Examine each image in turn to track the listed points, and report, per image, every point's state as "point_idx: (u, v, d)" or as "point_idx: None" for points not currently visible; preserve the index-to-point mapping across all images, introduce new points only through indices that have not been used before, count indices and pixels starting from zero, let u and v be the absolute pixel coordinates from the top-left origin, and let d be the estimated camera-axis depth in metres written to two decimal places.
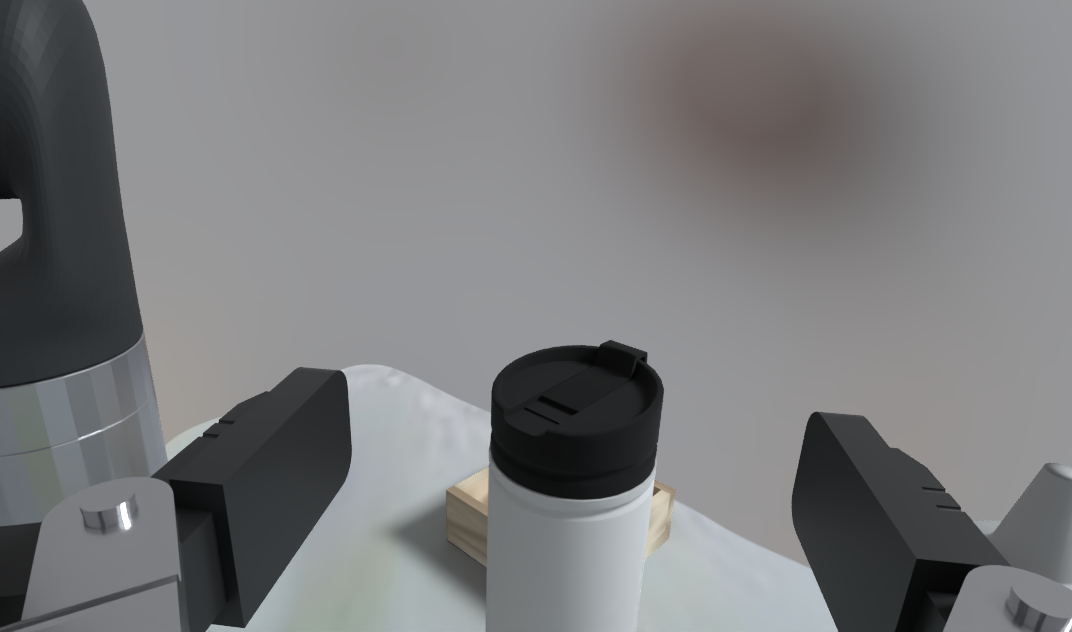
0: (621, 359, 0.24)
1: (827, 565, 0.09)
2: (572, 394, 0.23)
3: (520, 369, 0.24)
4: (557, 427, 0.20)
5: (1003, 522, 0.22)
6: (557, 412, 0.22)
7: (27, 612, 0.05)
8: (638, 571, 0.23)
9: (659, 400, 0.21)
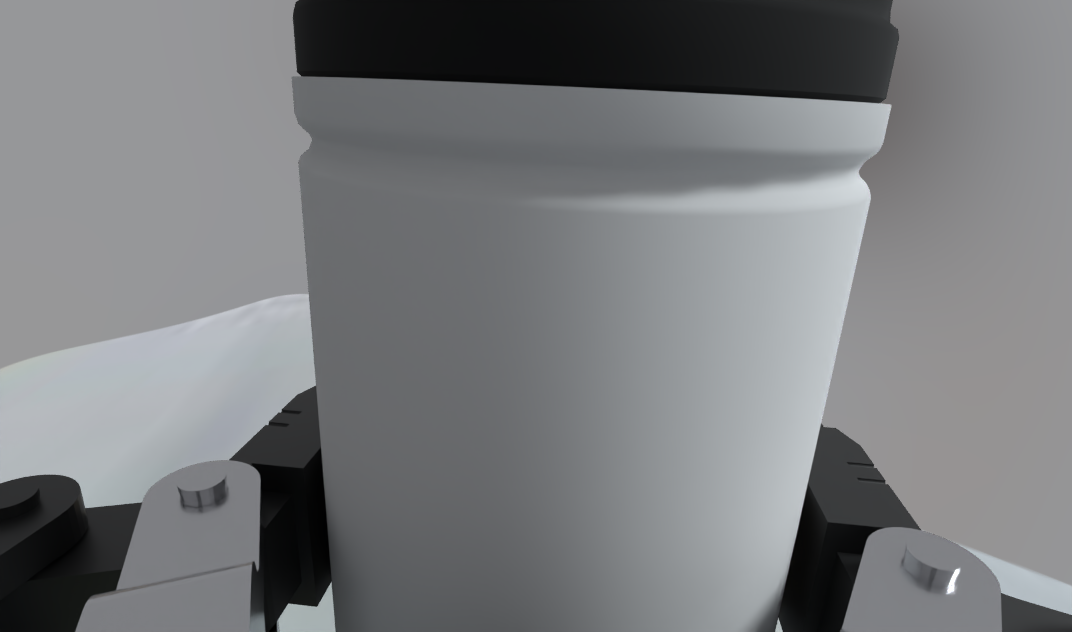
0: None
1: None
2: None
3: None
4: None
5: None
6: None
7: (122, 581, 0.06)
8: (804, 489, 0.07)
9: None
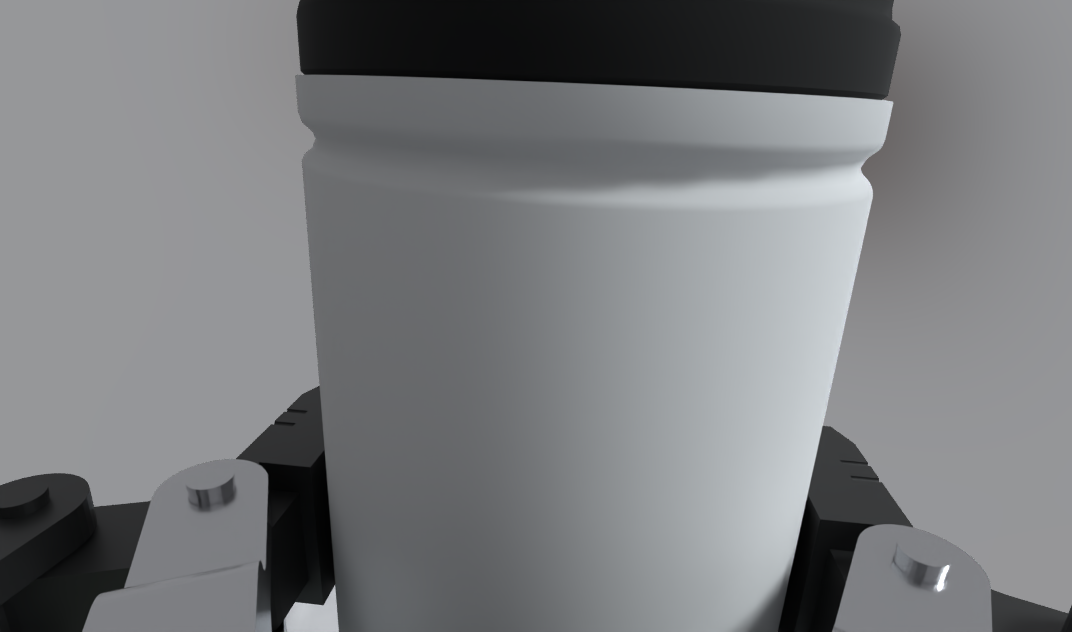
0: None
1: None
2: None
3: None
4: None
5: None
6: None
7: (130, 579, 0.06)
8: (806, 487, 0.07)
9: None
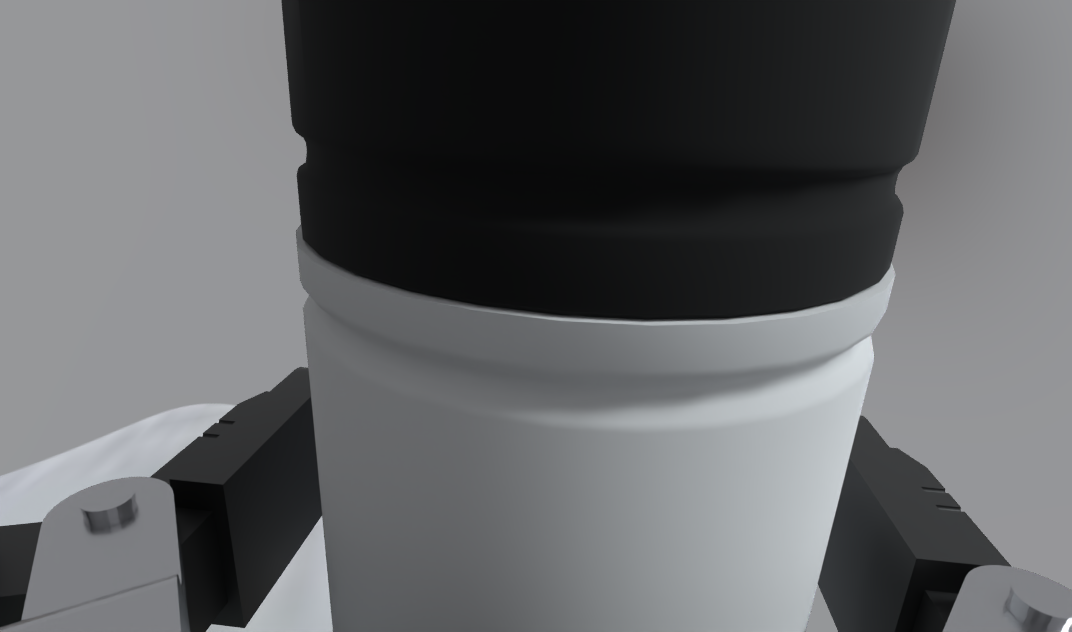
0: None
1: (827, 565, 0.09)
2: None
3: None
4: None
5: None
6: None
7: (28, 611, 0.05)
8: (805, 624, 0.07)
9: None
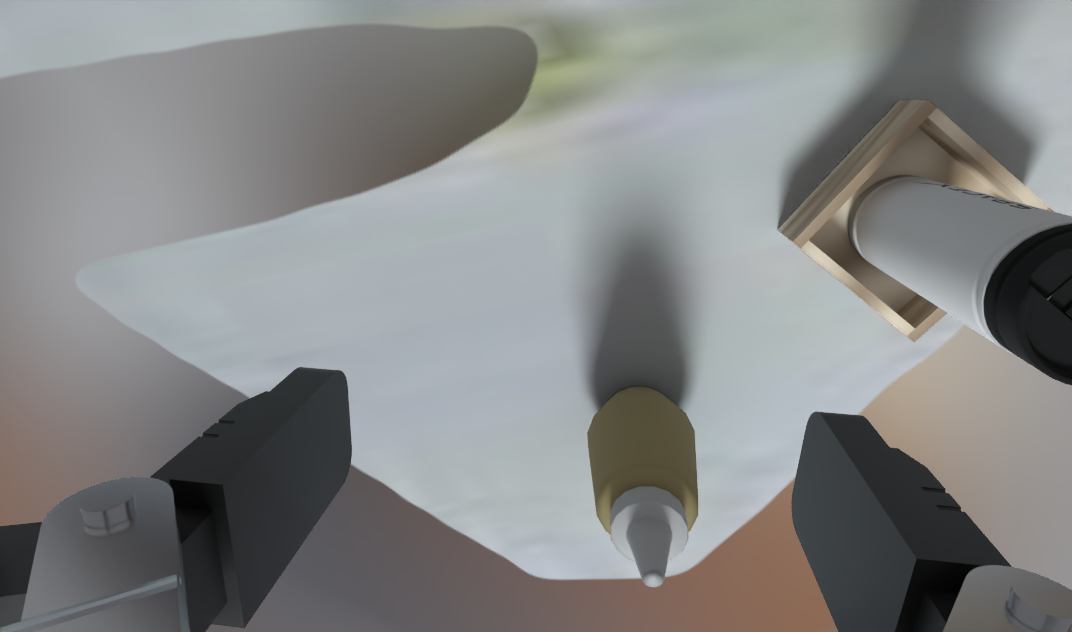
0: None
1: (827, 565, 0.09)
2: None
3: None
4: (1037, 295, 0.25)
5: (660, 533, 0.36)
6: (1071, 293, 0.25)
7: (27, 612, 0.05)
8: (959, 320, 0.32)
9: (1061, 380, 0.25)
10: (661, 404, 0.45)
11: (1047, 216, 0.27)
